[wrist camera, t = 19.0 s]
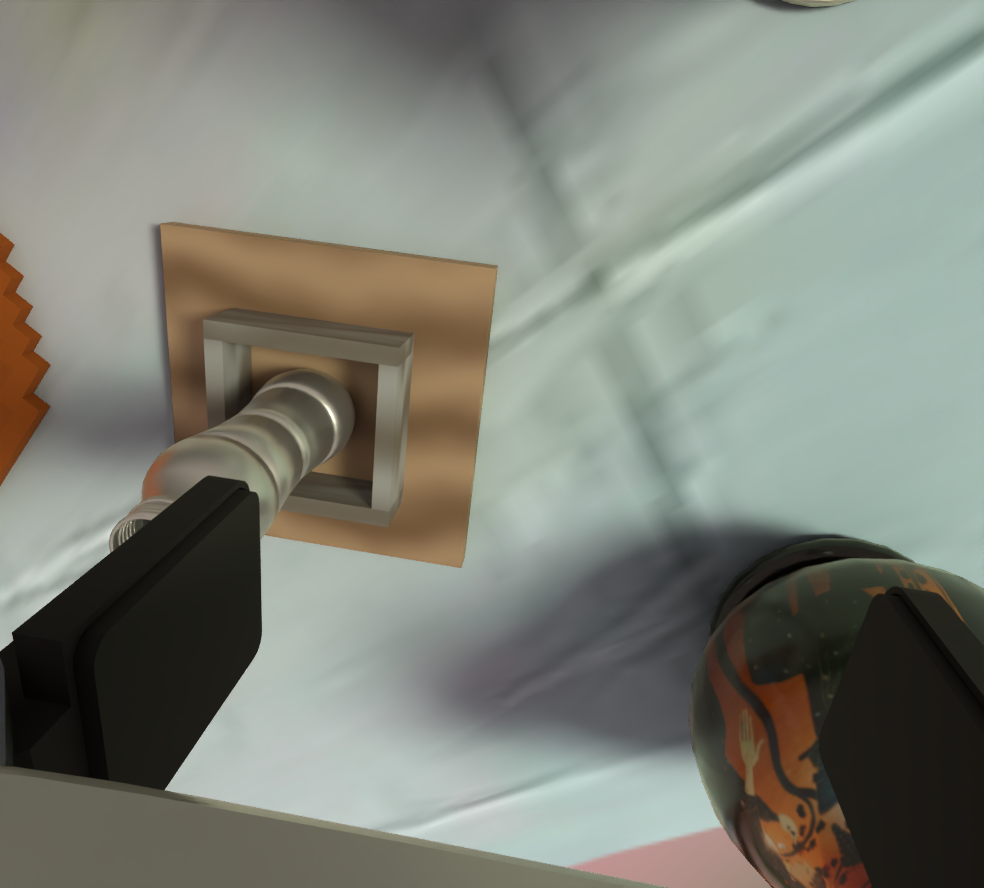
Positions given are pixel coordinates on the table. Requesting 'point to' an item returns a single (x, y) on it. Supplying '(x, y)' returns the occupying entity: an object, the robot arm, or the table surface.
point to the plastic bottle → (254, 448)
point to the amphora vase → (794, 699)
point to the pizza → (17, 367)
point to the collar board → (341, 374)
